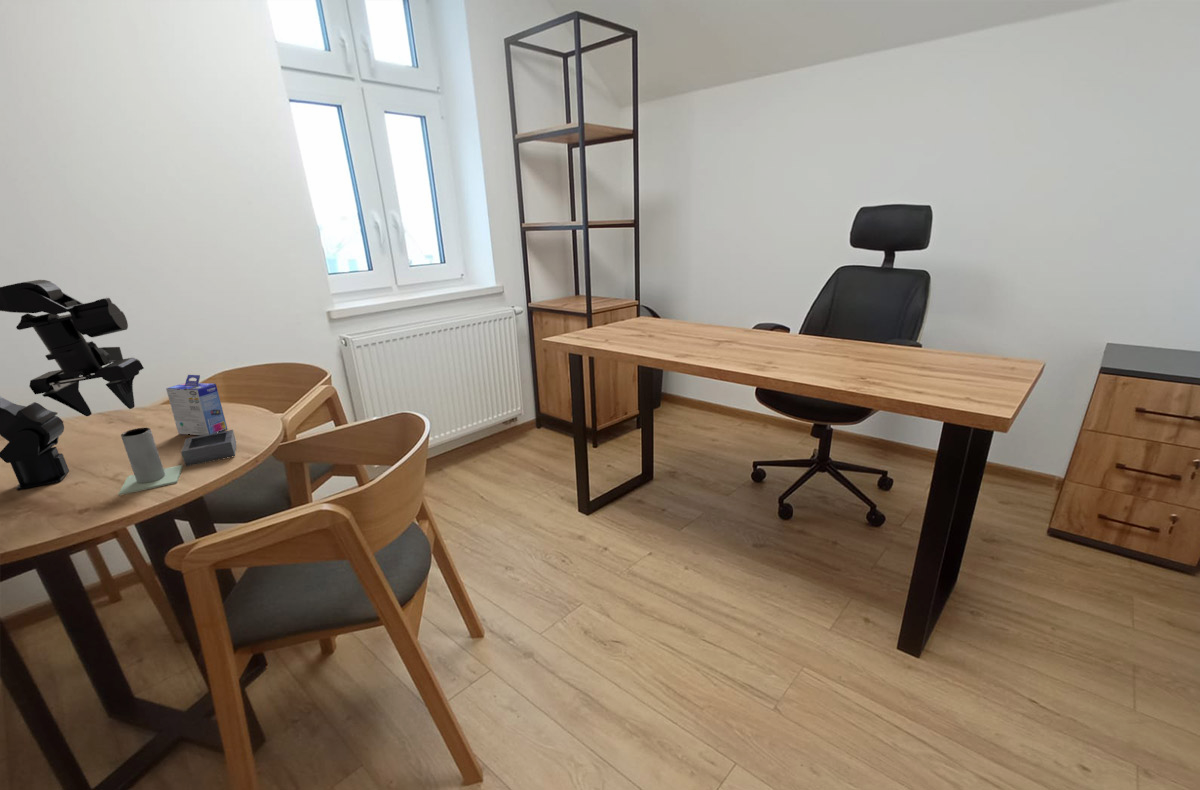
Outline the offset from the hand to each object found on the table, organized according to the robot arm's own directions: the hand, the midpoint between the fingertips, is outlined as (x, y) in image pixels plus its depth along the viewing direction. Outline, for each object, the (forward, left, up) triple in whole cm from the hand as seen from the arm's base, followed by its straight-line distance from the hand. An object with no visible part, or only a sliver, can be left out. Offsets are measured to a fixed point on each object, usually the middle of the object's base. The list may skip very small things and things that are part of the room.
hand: (110, 411), depth 111 cm
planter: (+6, -13, -12) cm, 19 cm away
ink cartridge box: (+12, +14, -13) cm, 23 cm away
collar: (+15, -5, -12) cm, 20 cm away
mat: (+6, -13, -12) cm, 19 cm away
